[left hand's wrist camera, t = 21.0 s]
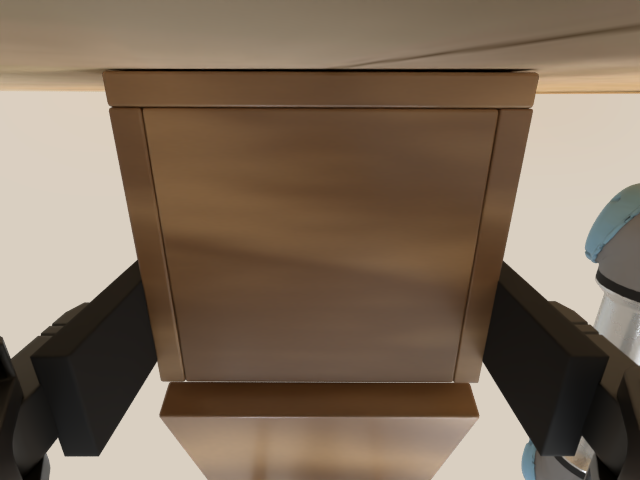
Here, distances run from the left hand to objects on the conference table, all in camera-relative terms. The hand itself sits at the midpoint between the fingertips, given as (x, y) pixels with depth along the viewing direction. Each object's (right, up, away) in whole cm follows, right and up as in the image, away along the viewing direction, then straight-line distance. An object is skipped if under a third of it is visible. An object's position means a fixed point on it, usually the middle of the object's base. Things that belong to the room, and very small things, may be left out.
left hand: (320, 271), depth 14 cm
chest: (0, +7, +1) cm, 8 cm away
